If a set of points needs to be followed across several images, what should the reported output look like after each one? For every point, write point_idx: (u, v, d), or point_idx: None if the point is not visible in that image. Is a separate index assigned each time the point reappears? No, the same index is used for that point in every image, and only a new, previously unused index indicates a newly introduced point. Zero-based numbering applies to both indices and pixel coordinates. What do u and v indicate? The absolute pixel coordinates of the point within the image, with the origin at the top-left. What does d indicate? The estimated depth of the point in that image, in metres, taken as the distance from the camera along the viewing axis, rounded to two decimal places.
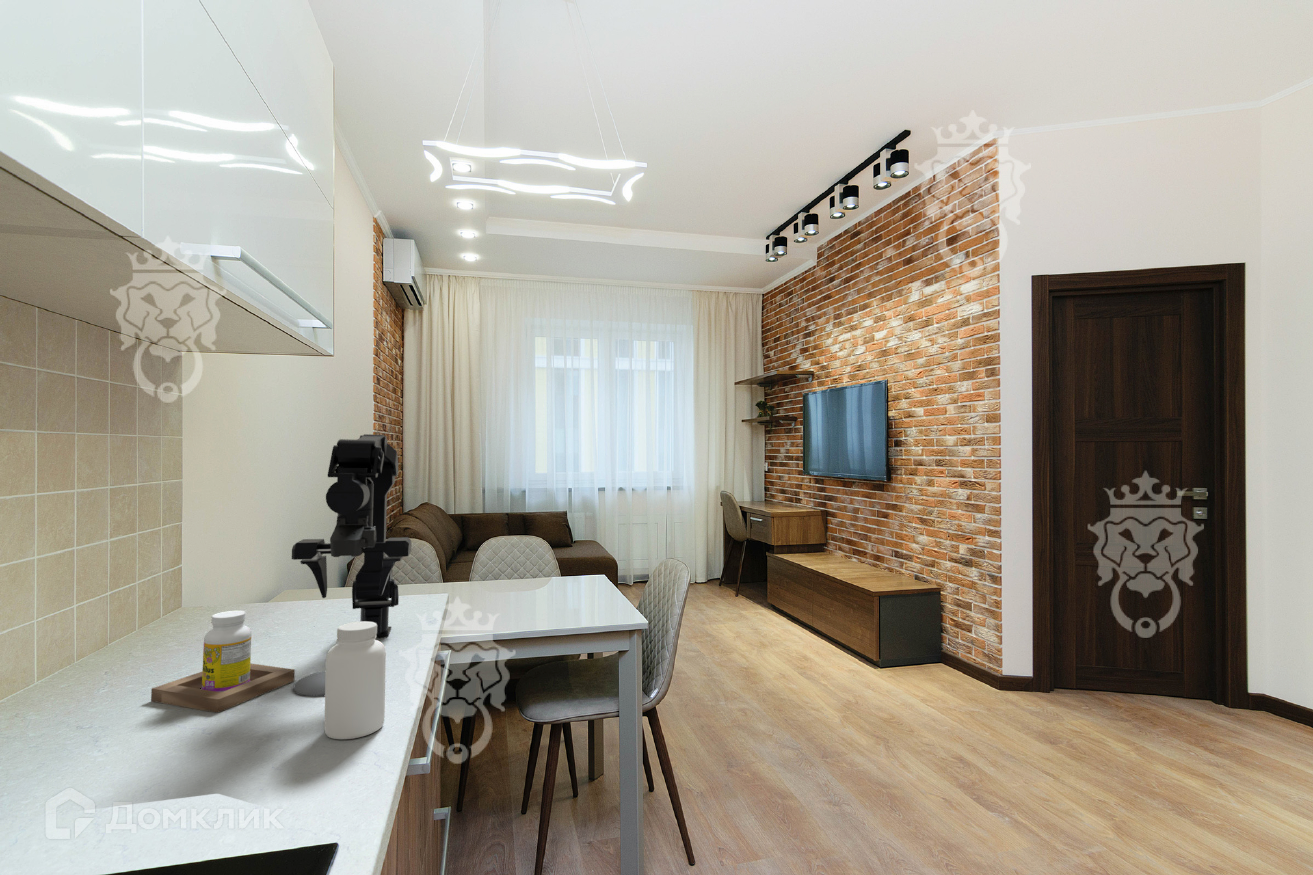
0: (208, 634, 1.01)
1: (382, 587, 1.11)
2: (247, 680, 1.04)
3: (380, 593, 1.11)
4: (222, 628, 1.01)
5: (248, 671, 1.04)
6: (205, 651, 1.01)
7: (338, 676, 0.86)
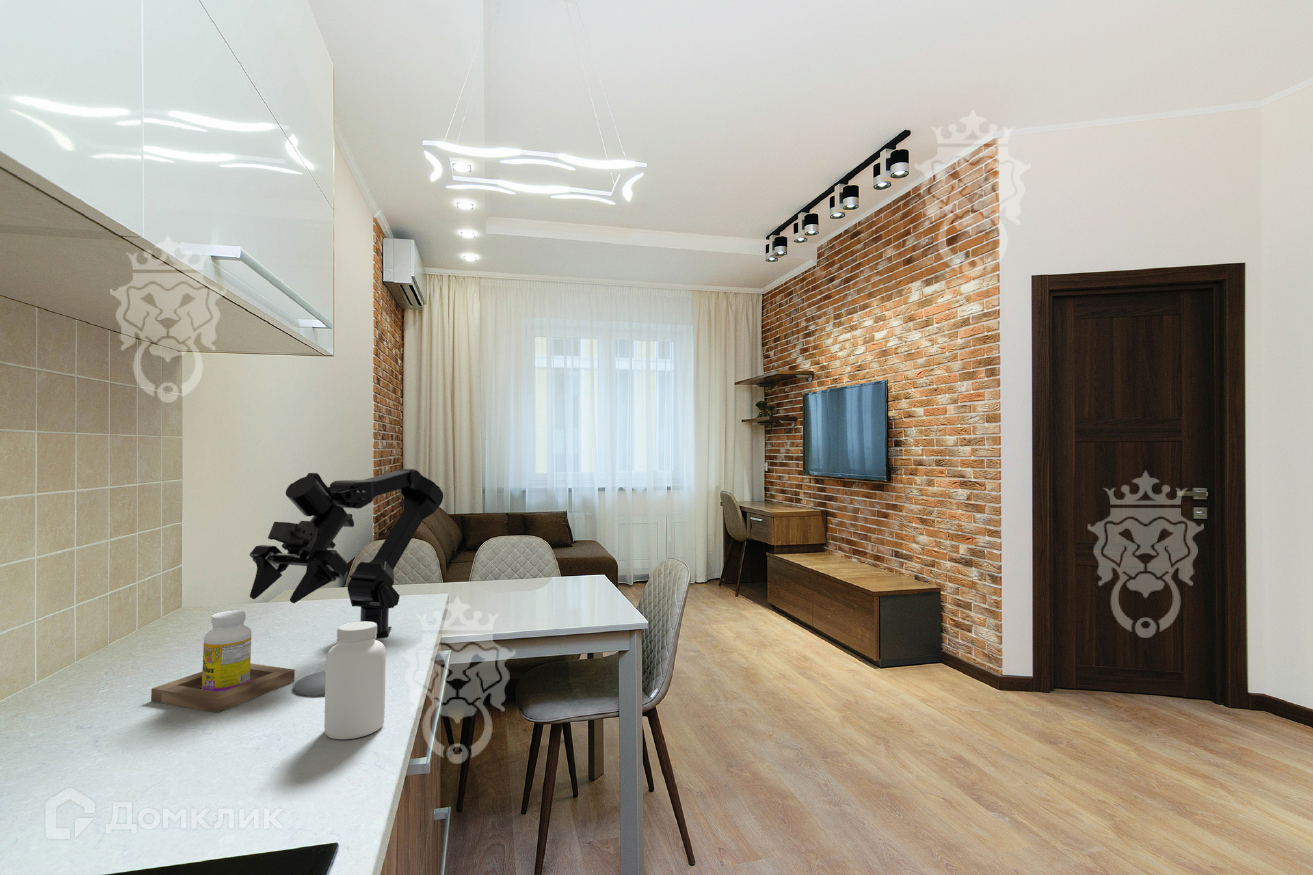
0: (208, 634, 1.01)
1: (295, 592, 1.11)
2: (247, 680, 1.04)
3: (291, 598, 1.10)
4: (222, 628, 1.01)
5: (248, 671, 1.04)
6: (205, 651, 1.01)
7: (338, 676, 0.86)
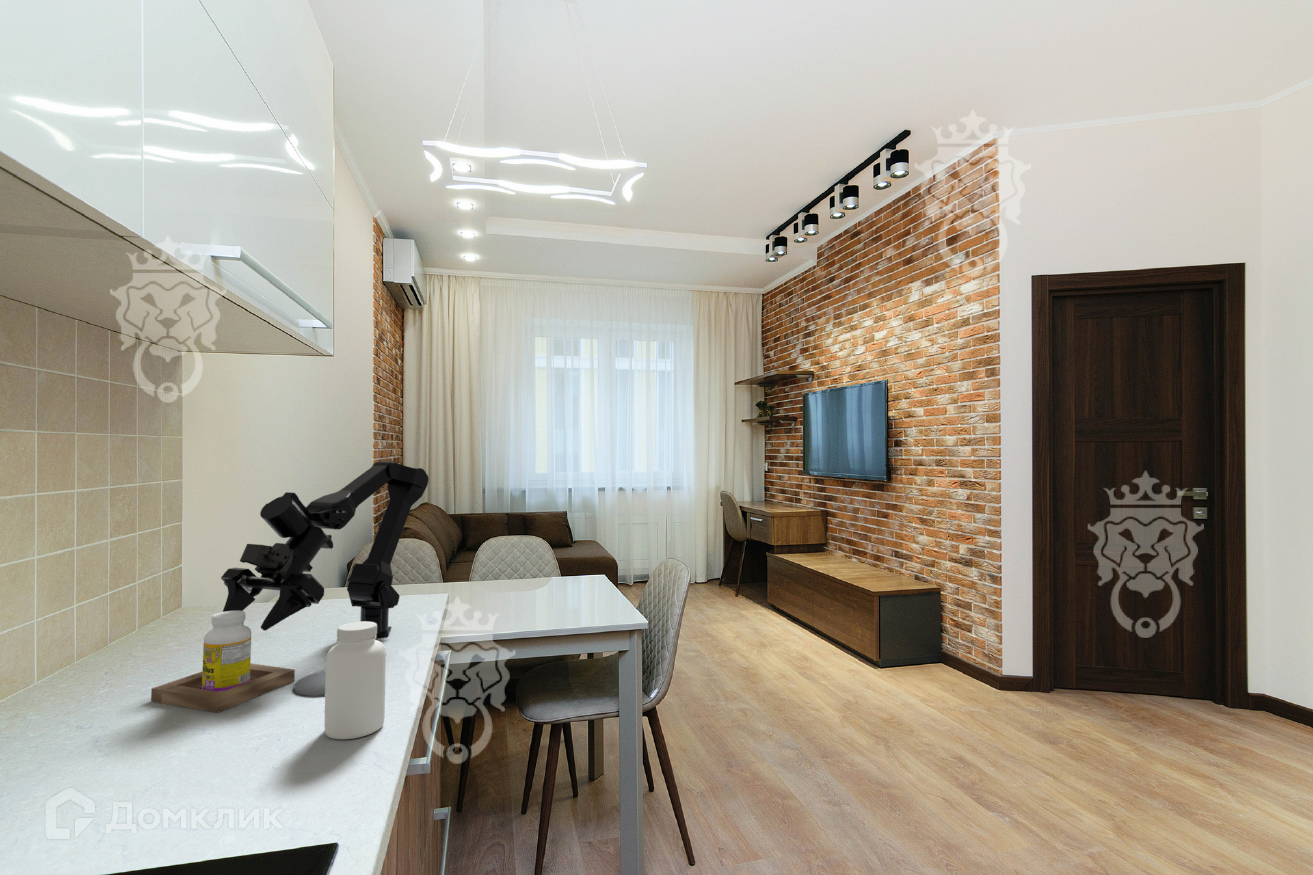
0: (208, 634, 1.01)
1: (267, 618, 1.05)
2: (247, 680, 1.04)
3: (262, 625, 1.05)
4: (222, 628, 1.01)
5: (248, 671, 1.04)
6: (205, 651, 1.01)
7: (338, 676, 0.86)
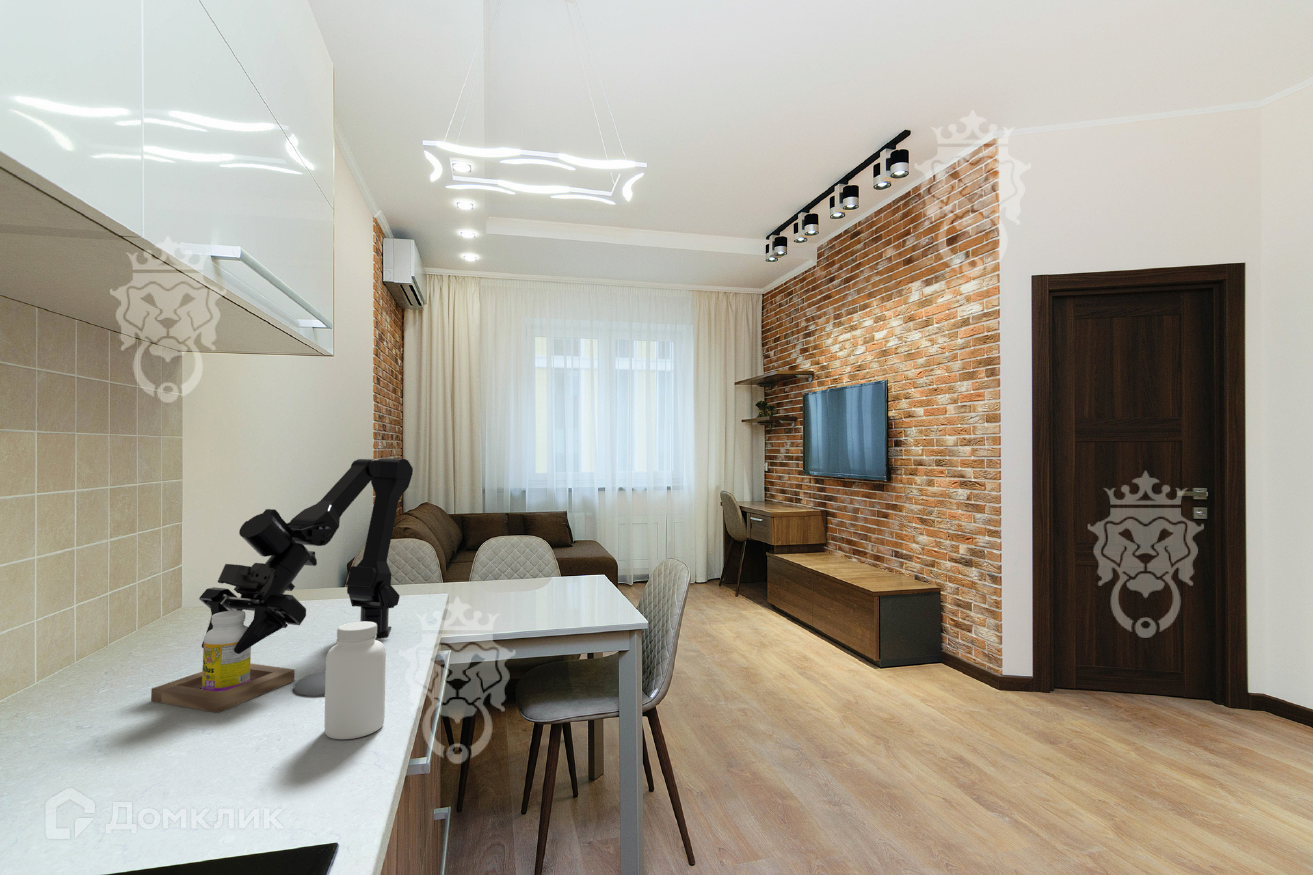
0: (208, 634, 1.01)
1: (241, 641, 1.02)
2: (247, 680, 1.04)
3: (235, 648, 1.01)
4: (222, 628, 1.01)
5: (248, 671, 1.04)
6: (205, 651, 1.01)
7: (338, 676, 0.86)
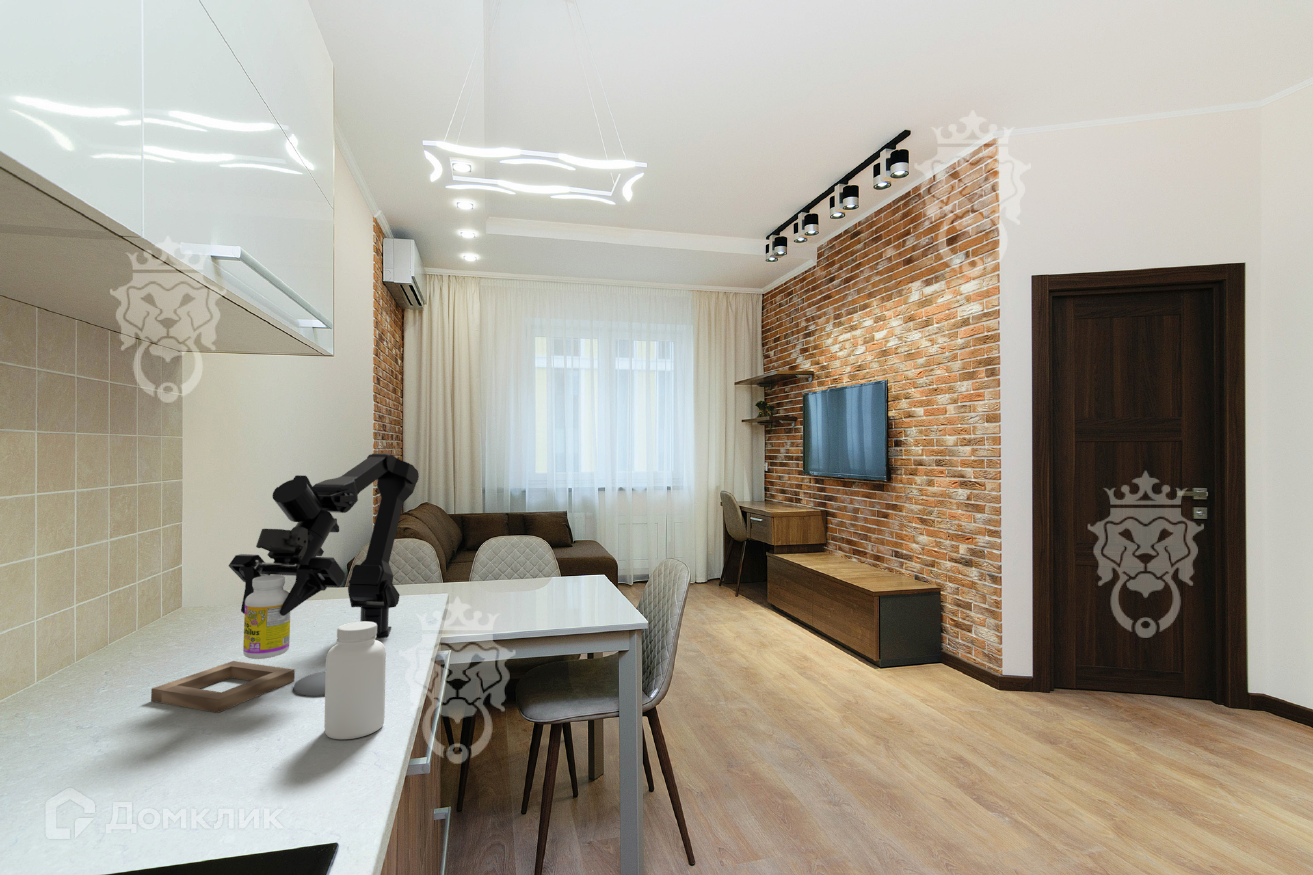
0: (251, 597, 1.02)
1: (286, 603, 1.03)
2: (288, 642, 1.05)
3: (281, 610, 1.03)
4: (265, 592, 1.02)
5: (289, 633, 1.06)
6: (249, 614, 1.01)
7: (338, 676, 0.86)
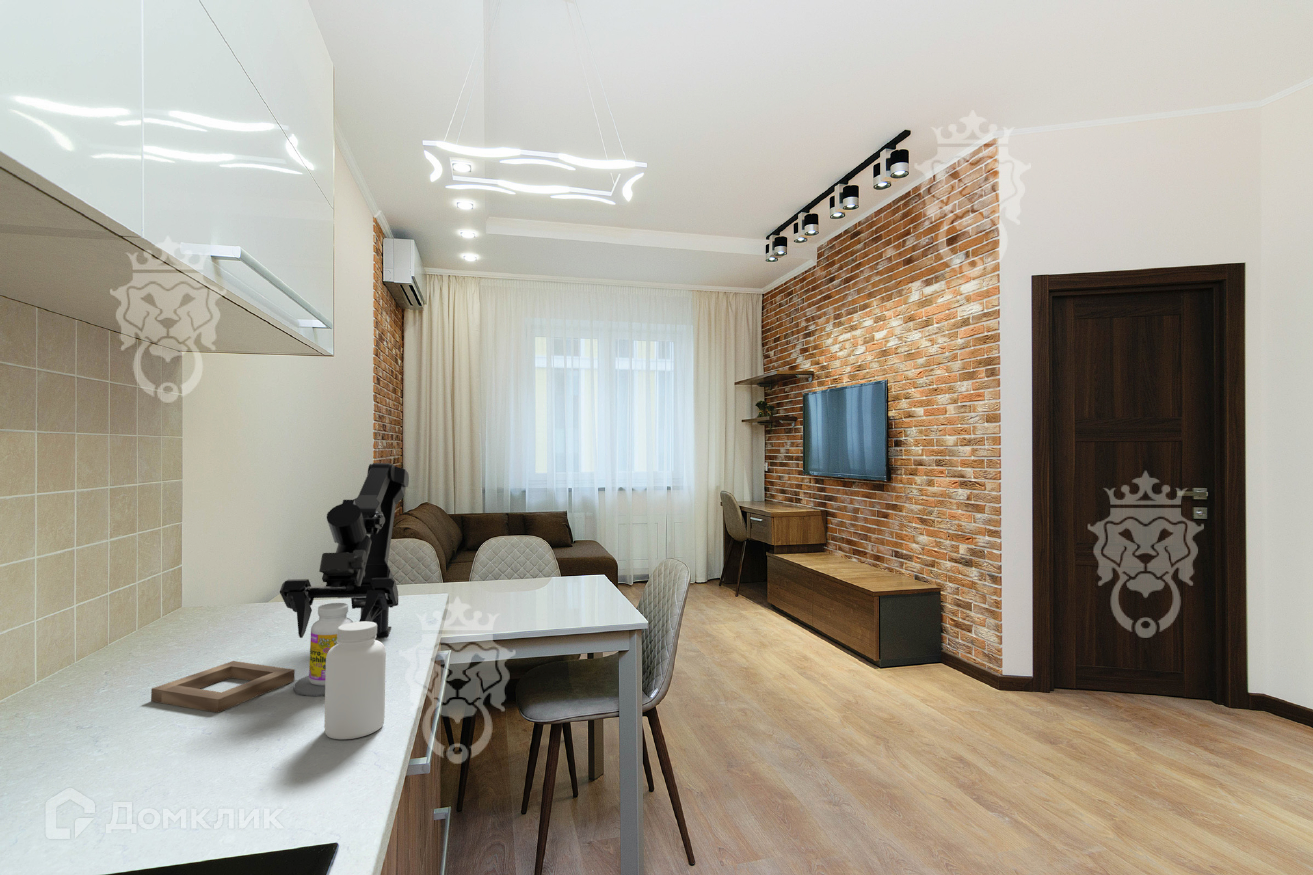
0: (321, 626, 1.05)
1: None
2: None
3: None
4: (335, 619, 1.06)
5: None
6: (320, 642, 1.04)
7: (338, 676, 0.86)
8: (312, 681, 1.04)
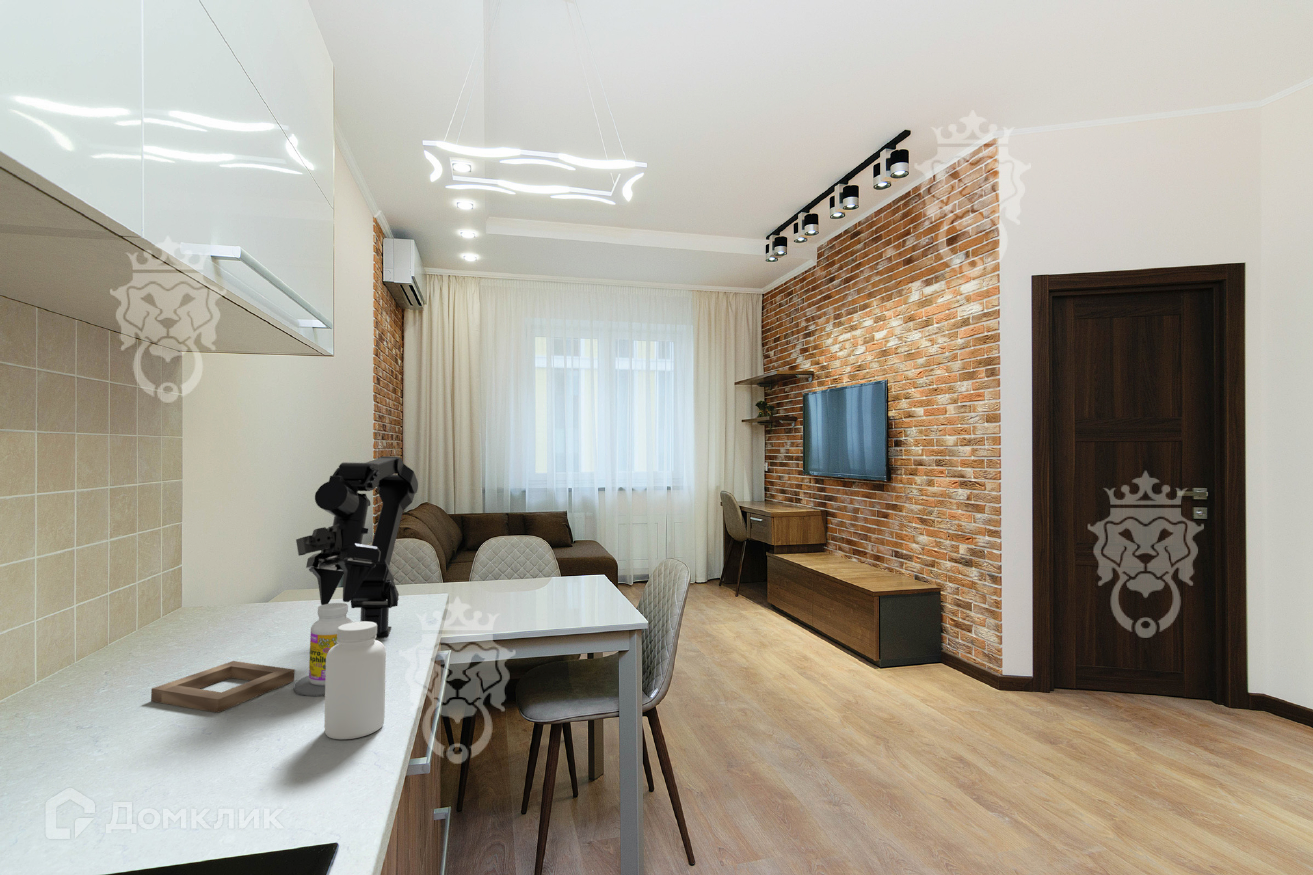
0: (321, 626, 1.05)
1: (344, 592, 1.14)
2: None
3: (343, 599, 1.14)
4: (335, 619, 1.06)
5: None
6: (320, 642, 1.04)
7: (338, 676, 0.86)
8: (312, 681, 1.04)
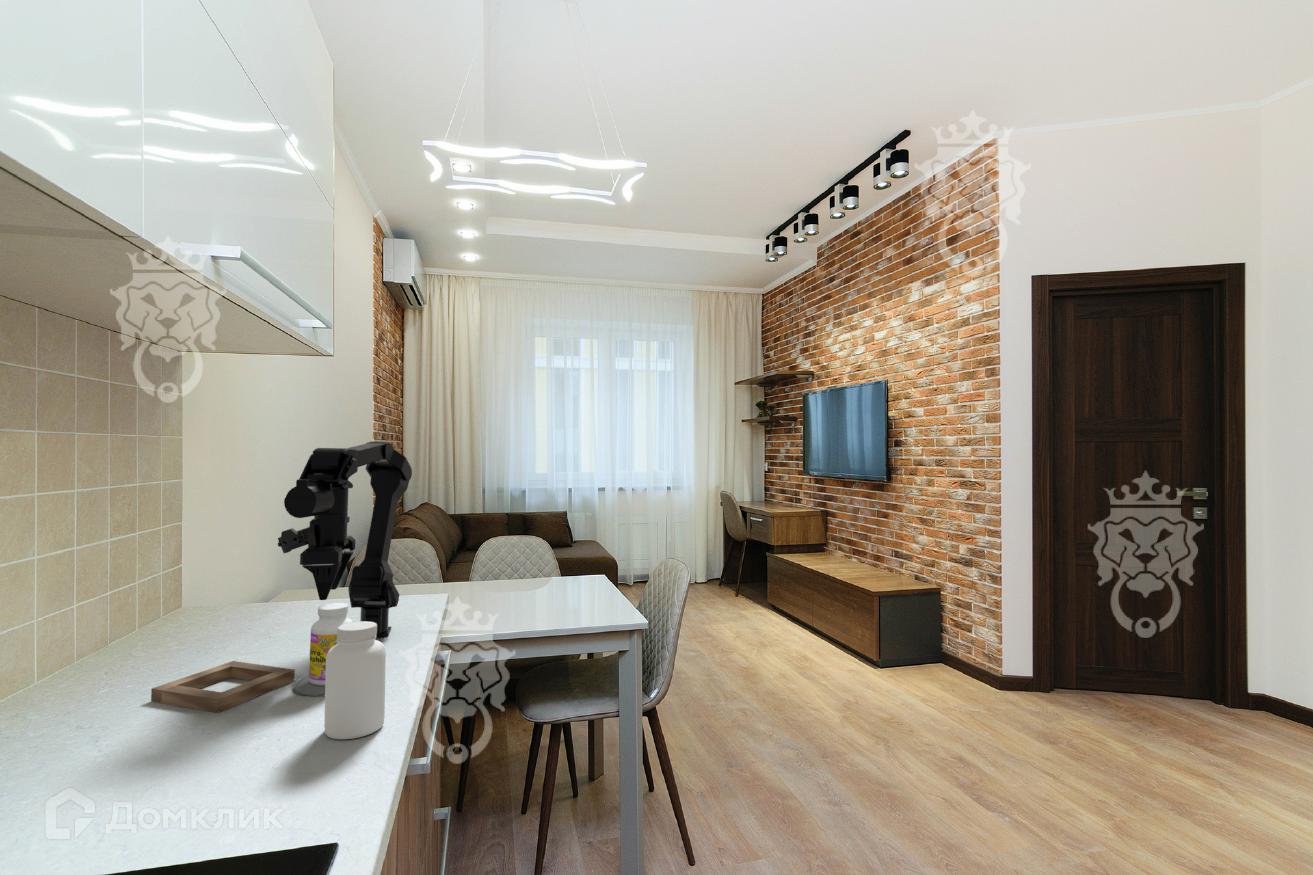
0: (321, 626, 1.05)
1: (318, 592, 1.13)
2: None
3: (319, 597, 1.13)
4: (335, 619, 1.06)
5: None
6: (320, 642, 1.04)
7: (338, 676, 0.86)
8: (312, 681, 1.04)
